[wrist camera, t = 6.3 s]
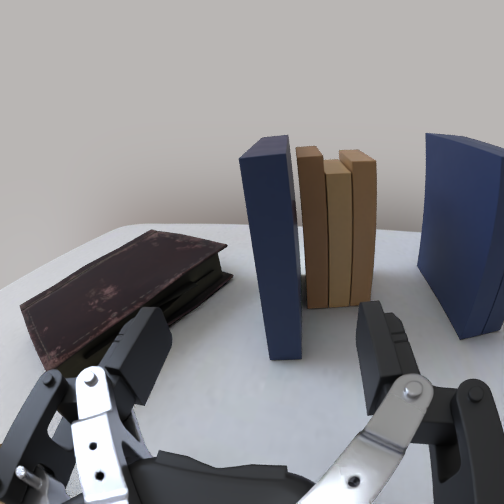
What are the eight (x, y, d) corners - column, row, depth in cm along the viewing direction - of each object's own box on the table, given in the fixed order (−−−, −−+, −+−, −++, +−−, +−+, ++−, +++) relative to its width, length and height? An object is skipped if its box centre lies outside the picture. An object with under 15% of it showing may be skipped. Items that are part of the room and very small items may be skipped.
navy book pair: (451, 262, 32) (463, 136, 24) (499, 330, 19) (542, 163, 12) (416, 265, 33) (425, 132, 25) (459, 339, 21) (501, 156, 13)
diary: (34, 330, 30) (17, 301, 28) (156, 253, 47) (148, 227, 45) (74, 407, 20) (45, 372, 17) (239, 279, 36) (232, 244, 34)
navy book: (300, 274, 36) (288, 134, 28) (301, 359, 23) (285, 153, 16) (278, 275, 36) (261, 137, 28) (269, 360, 24) (238, 158, 16)
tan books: (358, 270, 34) (358, 143, 27) (369, 304, 28) (376, 153, 21) (305, 273, 35) (295, 147, 28) (307, 309, 29) (296, 157, 22)
